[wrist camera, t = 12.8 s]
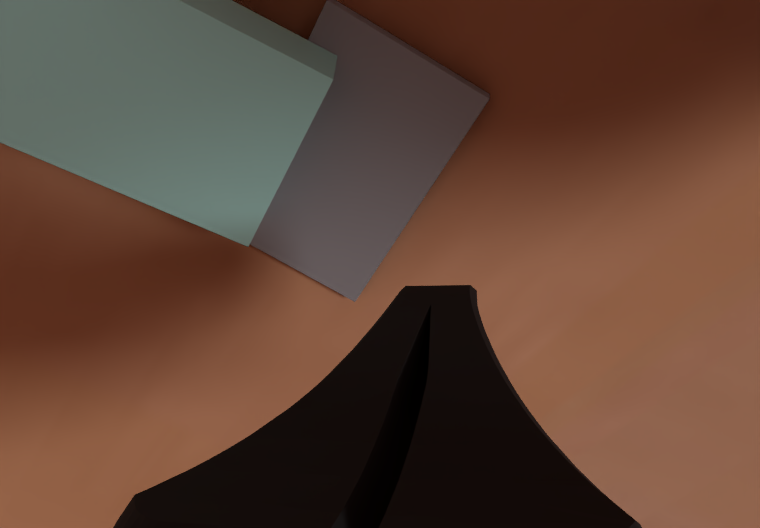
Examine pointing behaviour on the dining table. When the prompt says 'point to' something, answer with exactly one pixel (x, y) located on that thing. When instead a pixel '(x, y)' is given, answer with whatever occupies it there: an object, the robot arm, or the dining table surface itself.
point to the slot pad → (365, 153)
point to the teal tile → (162, 100)
